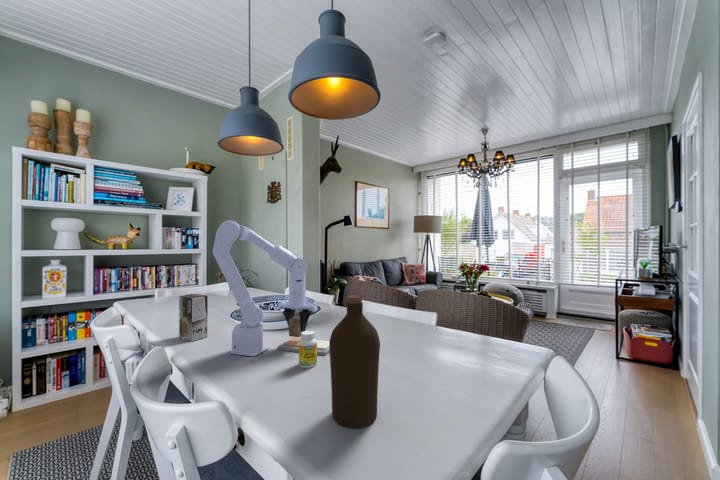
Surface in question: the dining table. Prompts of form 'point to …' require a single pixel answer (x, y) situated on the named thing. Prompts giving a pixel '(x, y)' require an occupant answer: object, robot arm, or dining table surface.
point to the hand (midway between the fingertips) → (297, 330)
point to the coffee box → (193, 316)
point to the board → (294, 346)
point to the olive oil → (354, 368)
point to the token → (295, 326)
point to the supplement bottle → (307, 350)
